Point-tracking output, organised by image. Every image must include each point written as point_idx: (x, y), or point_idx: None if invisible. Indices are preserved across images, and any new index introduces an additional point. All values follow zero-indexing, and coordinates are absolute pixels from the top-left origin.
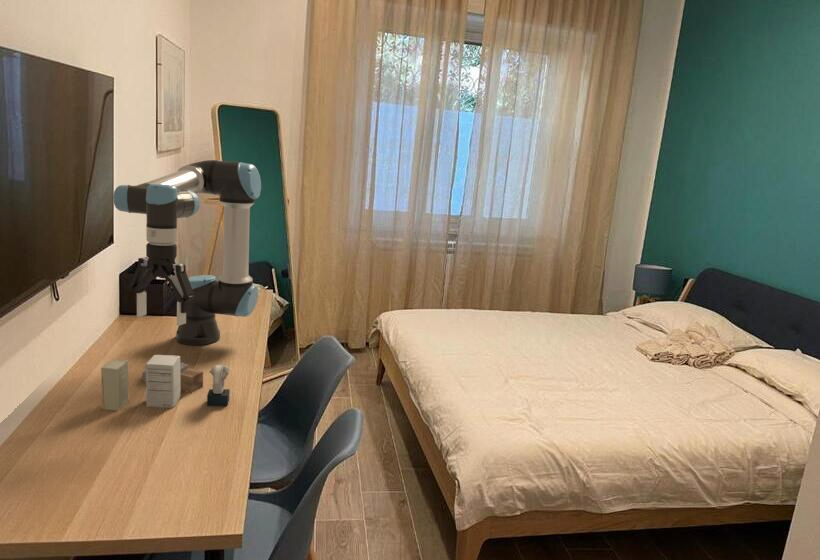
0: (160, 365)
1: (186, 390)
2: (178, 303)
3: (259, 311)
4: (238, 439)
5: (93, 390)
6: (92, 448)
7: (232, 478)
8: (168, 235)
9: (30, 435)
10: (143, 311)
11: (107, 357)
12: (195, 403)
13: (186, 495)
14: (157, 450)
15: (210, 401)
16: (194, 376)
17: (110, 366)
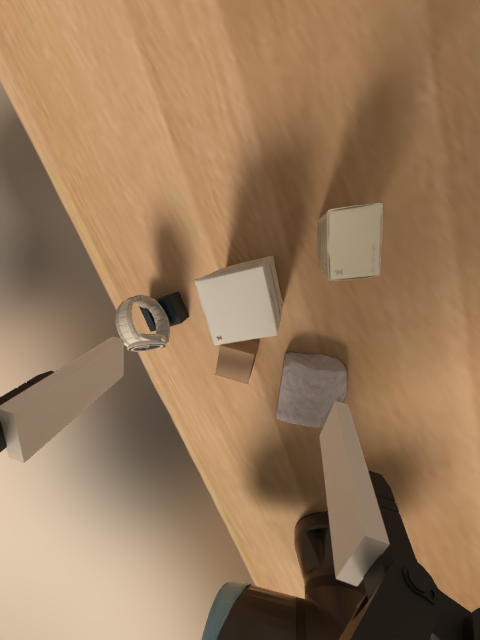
0: (224, 274)
1: None
2: (15, 402)
3: None
4: (71, 190)
5: (420, 293)
6: (274, 33)
7: (3, 52)
8: None
9: (452, 19)
10: (328, 438)
11: (472, 447)
12: None
13: None
14: (157, 90)
15: (169, 295)
16: (219, 352)
17: (357, 221)
